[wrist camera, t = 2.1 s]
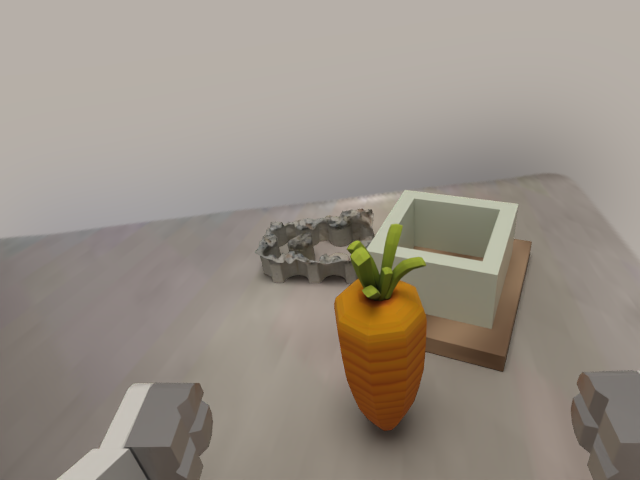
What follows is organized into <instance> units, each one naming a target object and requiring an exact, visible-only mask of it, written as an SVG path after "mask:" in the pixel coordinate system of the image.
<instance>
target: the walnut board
mask: <svg viewBox="0 0 640 480" xmlns="http://www.w3.org/2000/svg"><path fill="white" fill-rule="evenodd" d="M531 243H532V242H530V241H524V240H517V239H514V242H513V250H512V256H511V260H510V263H509V267H508V271H507V274H506V278H505V282H504V285H503V289H502V293H501V296H500V300H499V304H498V307H497V311H496V315H495V318H494V322H493V326H492V329H489V328H485V327H480V326H476V325H472V324H467V323H463V322H459V321H454V320H450V319H446V318H441V317H437V316H432V315H428V314H426V319H427V328H426V348H425V351H426V352H430V353H434V354H438V355H441V356H445V357H449V358H453V359H457V360H461V361H464V362H468V363H472V364H476V365H480V366H483V367H487V368H491V369H495V370H499V371H502V372H503V370H504V366H505V361H506V357H507V353H508V348H509V344H510V339H511V335H512V331H513V326H514V322H515V317H516V313H517V309H518V304H519V300H520V295H521V291H522V286H523V282H524V278H525V273H526V269H527V264H528V260H529V256H530V249H531ZM413 249H415V250H421V251H426V252H432V253H438V254H444V255H449V256H455V257H461V258H467V259H472V260H478V261H483V259H484V258H482V257H476V256H470V255H464V254H458V253H452V252H447V251H441V250H435V249H429V248H423V247H418V246H414V248H413Z"/></svg>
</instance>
